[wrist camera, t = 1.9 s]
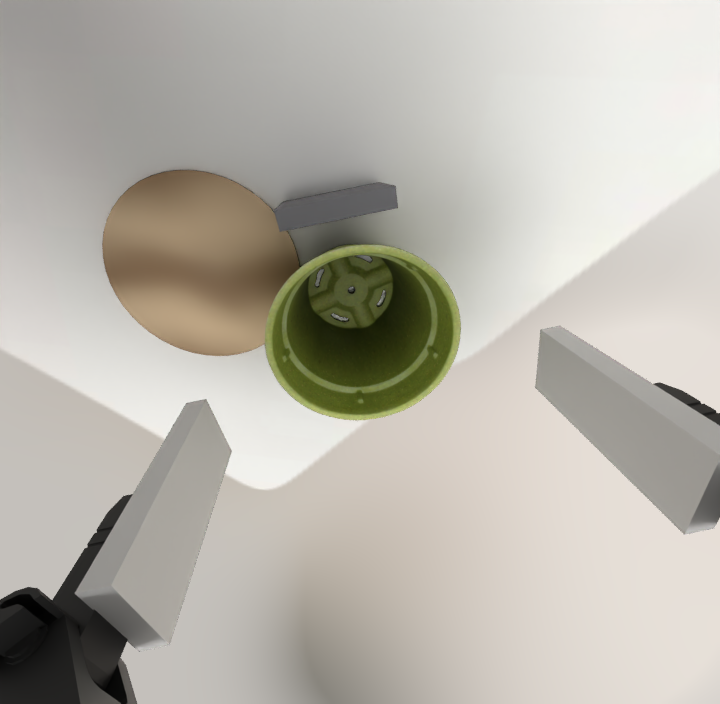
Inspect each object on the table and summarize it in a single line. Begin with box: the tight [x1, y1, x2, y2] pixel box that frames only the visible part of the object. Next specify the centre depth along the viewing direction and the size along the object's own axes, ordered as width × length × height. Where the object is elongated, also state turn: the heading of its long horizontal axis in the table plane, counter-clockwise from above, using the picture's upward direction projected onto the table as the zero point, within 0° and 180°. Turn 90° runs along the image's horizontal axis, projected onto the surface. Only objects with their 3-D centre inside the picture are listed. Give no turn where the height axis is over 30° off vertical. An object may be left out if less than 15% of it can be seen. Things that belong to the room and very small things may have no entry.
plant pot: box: [265, 244, 461, 420], centre depth 20 cm, size 9×9×9 cm
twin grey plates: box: [274, 183, 398, 232], centre depth 21 cm, size 13×6×5 cm, turn 10°
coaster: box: [102, 170, 300, 356], centre depth 22 cm, size 12×12×1 cm
